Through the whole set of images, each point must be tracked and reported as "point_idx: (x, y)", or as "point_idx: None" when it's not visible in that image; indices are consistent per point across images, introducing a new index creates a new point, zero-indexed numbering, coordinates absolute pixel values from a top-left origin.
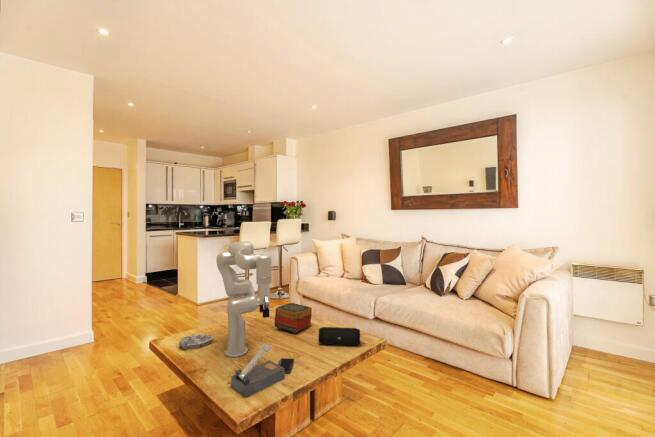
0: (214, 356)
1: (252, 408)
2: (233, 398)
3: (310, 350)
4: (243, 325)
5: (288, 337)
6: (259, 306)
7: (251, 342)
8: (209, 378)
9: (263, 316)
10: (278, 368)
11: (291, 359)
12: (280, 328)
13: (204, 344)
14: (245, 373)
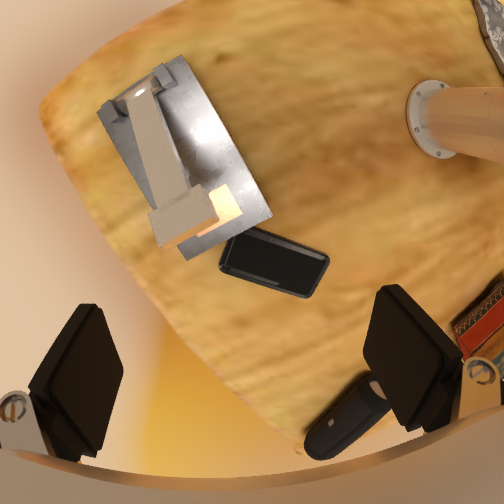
0: (428, 47)
1: (64, 137)
2: (120, 77)
3: (346, 347)
4: (499, 151)
5: (450, 301)
6: (440, 334)
7: (477, 186)
8: (276, 2)
9: (77, 318)
10: (190, 238)
11: (309, 290)
12: (493, 288)
13: (490, 48)
14: (129, 106)
